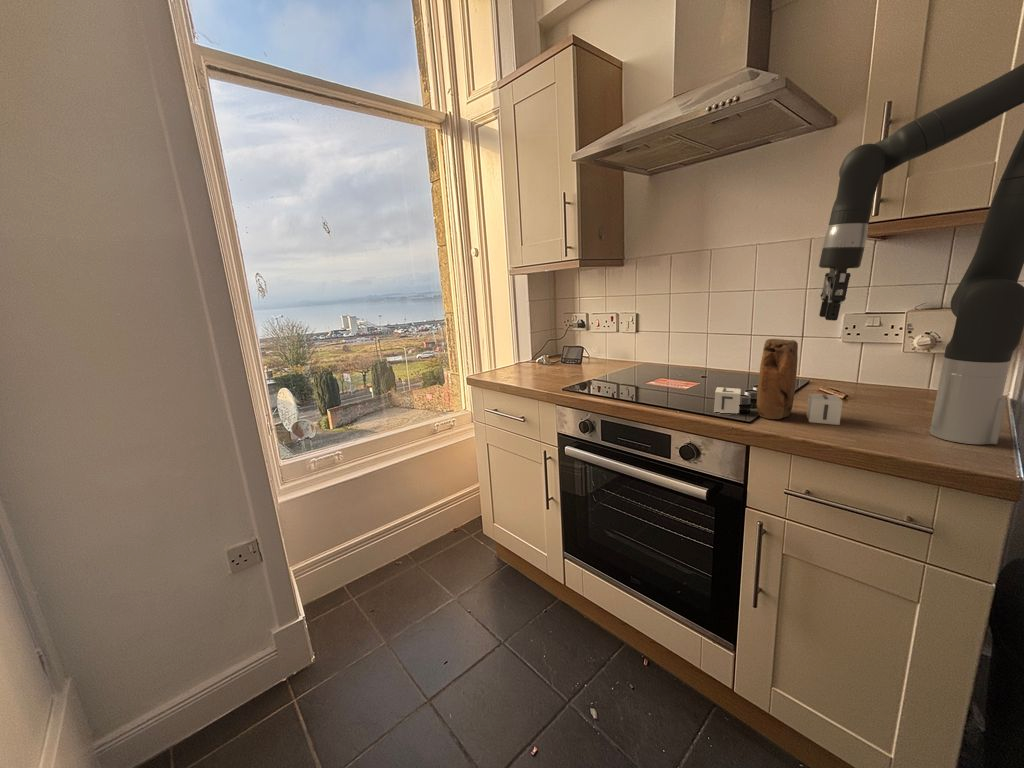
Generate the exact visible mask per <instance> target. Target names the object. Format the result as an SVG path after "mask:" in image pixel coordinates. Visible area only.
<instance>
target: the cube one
mask: <svg viewBox="0 0 1024 768" xmlns="http://www.w3.org/2000/svg"><path fill="white" fill-rule="evenodd" d="M843 402H844V401H843V400H842V399H841V397H840V396H839V395H838V394H837V395H836V394H822V393H808V401H807V409H806V417H807V419H808V422H809V423H815V424H816V423H817V424H825V425H826V424H828V425H838V426H840V423H841V417H842V408H843Z"/></svg>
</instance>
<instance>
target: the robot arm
mask: <svg viewBox="0 0 1024 768" xmlns="http://www.w3.org/2000/svg"><path fill="white" fill-rule="evenodd" d="M1022 104H1024V63H1022V64H1020V65H1019V66H1016V67H1014V68H1013V69H1011V70H1010V71H1008V72H1005V73H1004V74H1002V75H1001V76H998V77H997V78H994V79H993V80H991V81H989V82H987V83H985V84H983V85H981V86H979V87H977V88H975V89H974V90H970V92H967V93H966V94H963V95H960V96H959V97H957V98H955V99H953V100H951V101H949V102H947V103H946V104H943V105H941V106H939V107H938V108H936V109H933V110H931V111H929V112H927V113H925V114H923V115H921V116H920V117H917V118H915V119H913V120H912V121H910V122H907V123H906V124H905V125H903V126H901V127H900V128H898V129H897V130H896V131H895V132H893V134H891V135H889V136H887V137H885V138H883V139H882V140H880V141H877V142H876V143H864V144H861V145H858V146H856V147H855V148H853V149H852V150H851V151H849V152H848V153H847V154H846V156H845V157H844V159H843V161H842V163H841V165H840V167H839V170H838V171H839V172H838V176H839V180H838V186H837V187H838V188H837V193H836V197H835V200H834V202H833V206H832V208H831V213H830V216H829V217H830V218H829V222H828V227H827V230H826V232H825V236H824V239H823V240H824V241H823V244H822V249H821V253H820V257H819V264H818V267H819V268H820V269H829V272H826V273H825V275H824V278H823V284H822V289H821V294H820V300H821V304H820V310H819V314H818V316H819V317H820V318H824V319H825V320H826V321H837V320H838V318H839V314H840V309H841V304H843V303H844V302H845V300H846V298H847V296H846V295H847V292H848V286H849V282H850V278H851V273H850V272H848V269H858V268H860V267H861V265H862V259H863V255H864V251H865V247H866V243H867V239H868V232H869V231H868V229H869V224H870V223H869V222H870V217H871V214H872V210H873V205H874V204H873V203H874V197H875V194H876V191H877V189H878V185H879V183H880V179H881V176H883V175H885V174H887V173H888V172H890V171H892V170H894V169H896V168H897V167H899V166H901V165H903V164H905V163H907V162H908V161H911V160H913V159H916V158H919V157H921V156H923V155H925V154H927V153H930V152H931V151H934V150H937V149H938V148H940V147H942V146H945V145H947V144H948V143H950V142H953V141H955V140H956V139H959V138H960V137H962V136H965V135H967V134H968V133H970V132H972V131H974V130H976V129H978V128H979V127H981V126H983V125H985V124H986V123H987V124H988V122H990V121H992V120H994V119H995V118H997V117H999V116H1001V115H1003V114H1006V113H1007V112H1008V111H1011V110H1013V109H1014V108H1016V107H1018V106H1021V105H1022ZM1023 267H1024V129H1023V130H1022V133H1021V134H1020V137H1019V138H1018V140H1017V143H1016V144H1015V147H1014V149H1013V151H1012V153H1011V155H1010V157H1009V160H1008V162H1007V165H1006V167H1005V169H1004V170H1003V174H1002V175H1001V178H1000V180H999V182H998V186H997V188H996V190H995V192H994V195H993V197H992V201H991V204H990V206H989V210H988V213H987V215H986V218H985V221H984V224H983V227H982V229H981V234H980V237H979V241H978V244H977V247H976V250H975V252H974V254H973V257H972V259H971V261H970V263H969V265H968V267H967V269H966V271H965V272H964V274H963V276H962V278H961V280H960V282H959V284H958V285H957V287H956V290H955V291H954V292H953V295H952V297H951V298H950V299H951V300H950V309H951V312H952V314H953V315H954V316H955V323H954V329H953V333H952V337H951V339H950V341H949V342H948V343H947V344H946V346H945V349H944V356H943V361H942V366H941V371H940V376H939V382H938V387H937V392H936V398H935V402H934V408H933V413H932V418H931V422H930V428H929V433H930V435H932V436H933V437H935V438H939V439H941V440H946V441H949V442H954V443H961V444H968V445H998V442H999V438H1000V433H1001V429H1002V424H1003V421H1004V417H1005V416H1004V415H1005V411H1006V408H1007V403H1008V400H1007V398H1004V397H1003V396H1004V392H1005V387H1006V383H1007V380H1008V379H1007V378H1008V374H1009V368H1010V364H1011V361H1012V358H1013V357H1012V356H1013V353H1014V351H1015V350H1016V349H1017V348H1018V345H1019V344H1020V342H1021V338H1022V335H1023V331H1024V286H1023V284H1021V283H1019V282H1018V281H1019V278H1020V275H1021V273H1022V270H1023Z"/></svg>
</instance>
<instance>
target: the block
mask: <svg viewBox="0 0 1024 768" xmlns="http://www.w3.org/2000/svg"><path fill="white" fill-rule="evenodd" d="M798 344H799V343H798V342H797V340H795V339H790V340H788V339H784V338H783V339H781V338H769V339H766V340H765V342H764V344H763V345H764V346H763V350H762V355H761V361H760V367H759V374H758V383H757V384H758V385H757V395H756V410H757V413H758V415H759V417H762V418H764V419H769V420H780V419H783V418H787V417H788V416H790V414H791V413H792V410H793V406H794V405H793V404H794V400H795V391H796V386H797V385H796V382H797V374H798V363H799V362H798V359H799V357H798V351H799V349H798V348H799V345H798Z"/></svg>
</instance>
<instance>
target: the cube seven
mask: <svg viewBox="0 0 1024 768" xmlns="http://www.w3.org/2000/svg"><path fill="white" fill-rule="evenodd" d="M741 392H742V389H741V388H737V387H736V388H733V387H731V388H730V387H721V386H720V387H719V386H718V387H716V388H715V391H714V404H713V406H714V407H713V413H714V412H720V413H739V414H740V406H739V405H740V402H741ZM720 413H719V414H720Z"/></svg>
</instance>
